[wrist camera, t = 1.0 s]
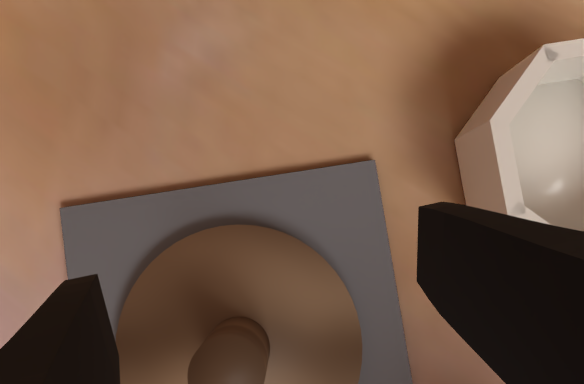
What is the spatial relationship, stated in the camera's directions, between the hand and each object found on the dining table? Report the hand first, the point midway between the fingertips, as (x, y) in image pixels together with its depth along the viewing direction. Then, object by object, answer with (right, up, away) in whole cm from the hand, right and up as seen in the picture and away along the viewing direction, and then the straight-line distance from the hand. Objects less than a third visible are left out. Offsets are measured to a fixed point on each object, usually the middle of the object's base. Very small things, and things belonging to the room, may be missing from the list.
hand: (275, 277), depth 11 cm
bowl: (+13, +3, +13) cm, 18 cm away
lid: (-2, -5, +11) cm, 13 cm away
